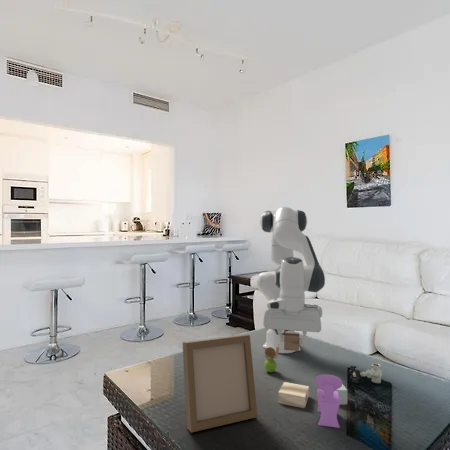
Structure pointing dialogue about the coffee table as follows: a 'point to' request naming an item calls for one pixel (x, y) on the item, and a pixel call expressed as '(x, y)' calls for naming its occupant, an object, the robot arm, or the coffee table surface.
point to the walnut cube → (291, 341)
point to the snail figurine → (270, 359)
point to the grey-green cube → (342, 394)
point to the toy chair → (328, 399)
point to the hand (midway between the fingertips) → (291, 342)
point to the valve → (367, 373)
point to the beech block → (293, 394)
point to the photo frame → (218, 382)
